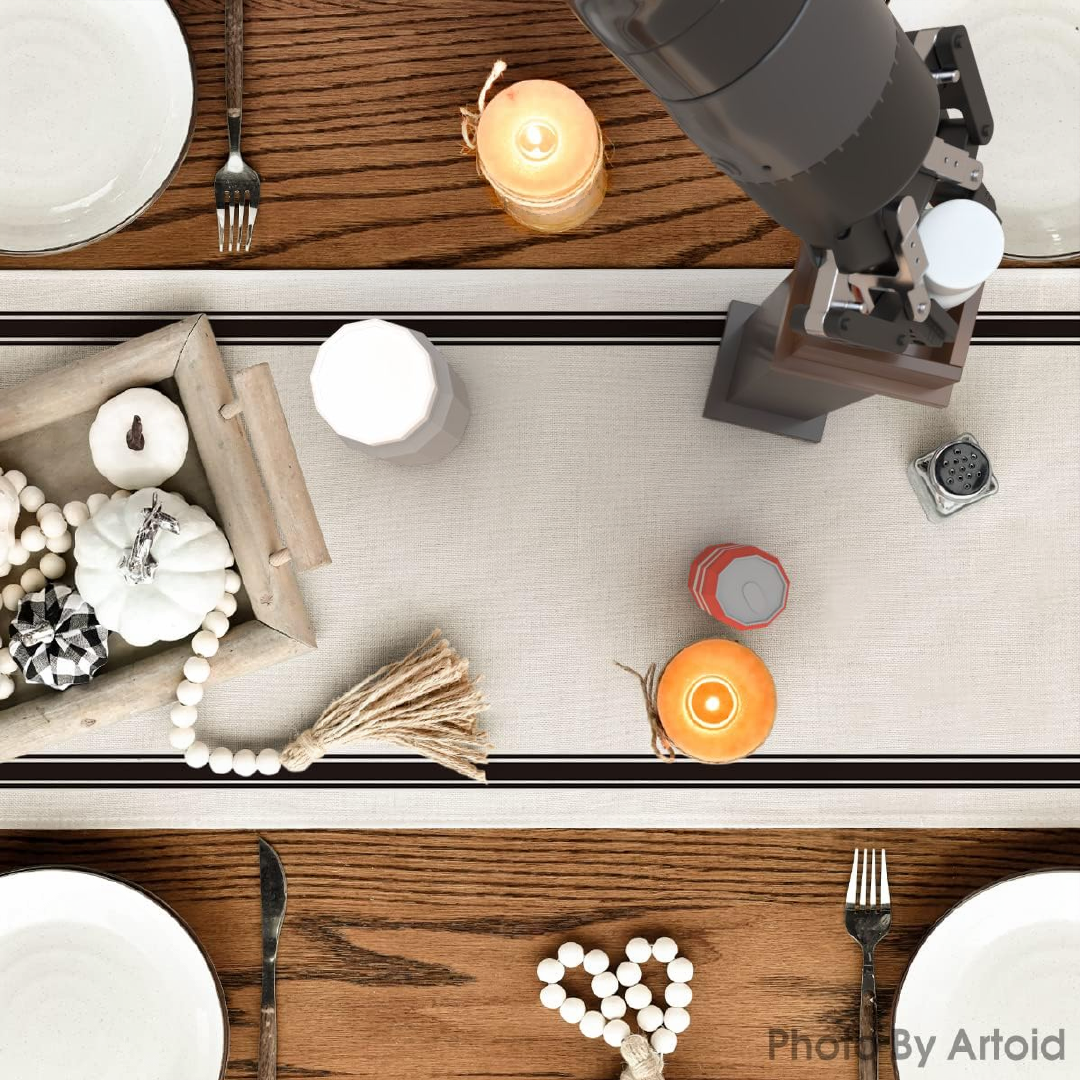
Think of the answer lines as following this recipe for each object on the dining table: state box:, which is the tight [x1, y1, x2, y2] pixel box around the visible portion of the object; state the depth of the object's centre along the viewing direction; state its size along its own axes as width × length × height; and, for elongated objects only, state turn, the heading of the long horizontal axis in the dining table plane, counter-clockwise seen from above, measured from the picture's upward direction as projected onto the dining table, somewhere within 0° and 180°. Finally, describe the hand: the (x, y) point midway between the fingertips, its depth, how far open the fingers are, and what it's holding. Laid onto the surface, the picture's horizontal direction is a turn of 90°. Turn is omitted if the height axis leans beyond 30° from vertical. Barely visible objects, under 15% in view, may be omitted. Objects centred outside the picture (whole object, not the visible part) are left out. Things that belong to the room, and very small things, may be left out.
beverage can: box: [687, 542, 791, 632], centre depth 73 cm, size 6×6×12 cm
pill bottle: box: [851, 199, 1006, 315], centre depth 45 cm, size 5×5×8 cm
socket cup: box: [770, 208, 986, 410], centre depth 51 cm, size 10×10×4 cm
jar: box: [309, 317, 472, 468], centre depth 71 cm, size 10×10×18 cm
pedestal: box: [701, 270, 877, 445], centre depth 66 cm, size 10×10×26 cm
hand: (958, 281), depth 45 cm, fingers closed on pill bottle, 4 cm apart
